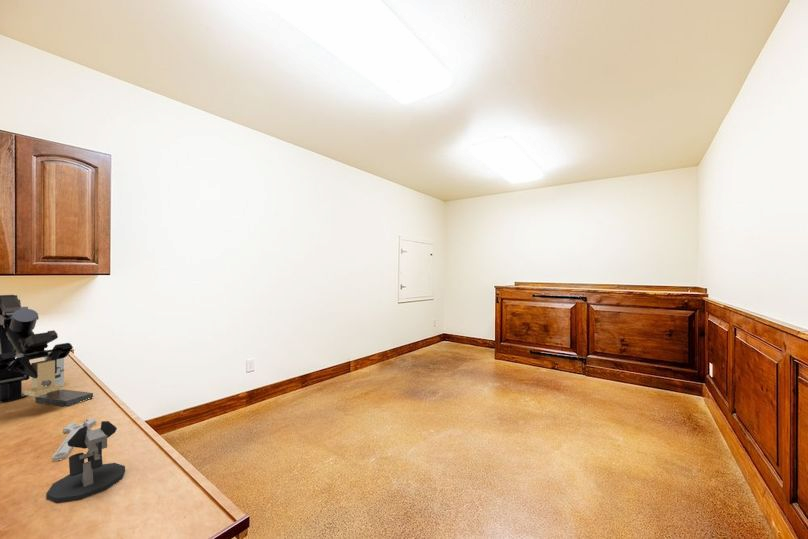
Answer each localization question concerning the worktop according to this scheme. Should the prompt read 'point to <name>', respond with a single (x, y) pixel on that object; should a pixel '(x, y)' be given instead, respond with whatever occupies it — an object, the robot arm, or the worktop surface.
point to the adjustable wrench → (71, 429)
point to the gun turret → (87, 466)
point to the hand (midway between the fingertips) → (46, 375)
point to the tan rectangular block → (43, 379)
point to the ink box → (60, 372)
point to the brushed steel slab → (63, 397)
